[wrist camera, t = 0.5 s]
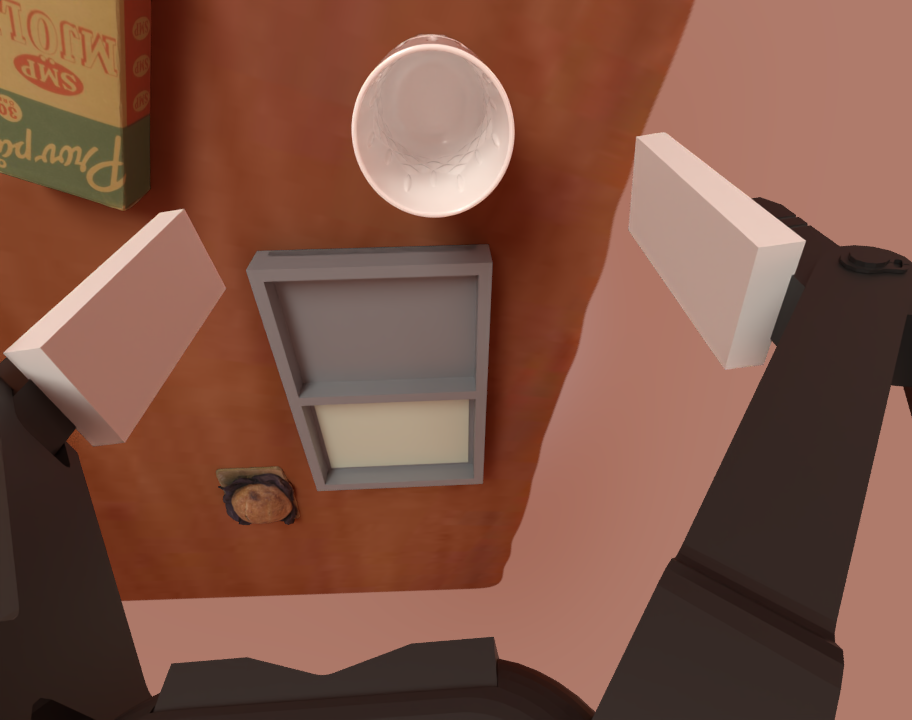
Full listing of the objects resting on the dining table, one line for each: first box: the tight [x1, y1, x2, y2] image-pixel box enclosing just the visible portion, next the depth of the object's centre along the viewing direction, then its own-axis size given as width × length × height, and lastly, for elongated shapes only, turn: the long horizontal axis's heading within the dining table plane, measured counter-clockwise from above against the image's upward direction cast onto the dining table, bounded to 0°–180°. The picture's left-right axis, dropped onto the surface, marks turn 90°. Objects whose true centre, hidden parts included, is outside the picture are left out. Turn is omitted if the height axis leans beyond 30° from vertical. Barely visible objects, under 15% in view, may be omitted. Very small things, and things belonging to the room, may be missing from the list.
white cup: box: [352, 34, 515, 218], centre depth 27 cm, size 8×8×10 cm
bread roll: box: [216, 467, 300, 525], centre depth 56 cm, size 11×8×4 cm
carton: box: [0, 0, 151, 211], centre depth 27 cm, size 8×16×4 cm, turn 158°
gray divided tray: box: [246, 244, 493, 491], centre depth 45 cm, size 18×27×3 cm, turn 1°
